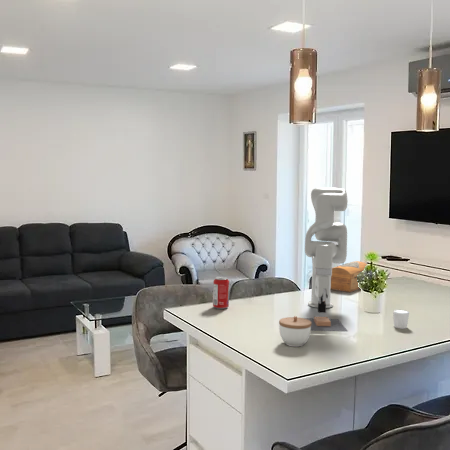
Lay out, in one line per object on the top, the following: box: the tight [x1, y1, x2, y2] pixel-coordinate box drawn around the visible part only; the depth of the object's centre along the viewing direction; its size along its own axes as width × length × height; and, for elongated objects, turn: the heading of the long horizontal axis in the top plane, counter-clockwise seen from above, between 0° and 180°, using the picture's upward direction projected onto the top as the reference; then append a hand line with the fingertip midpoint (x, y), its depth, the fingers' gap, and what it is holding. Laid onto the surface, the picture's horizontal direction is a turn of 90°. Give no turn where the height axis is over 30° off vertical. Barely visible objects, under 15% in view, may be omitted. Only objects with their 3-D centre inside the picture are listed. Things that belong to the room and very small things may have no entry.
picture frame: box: [313, 316, 331, 326], centre depth 247 cm, size 2×6×8 cm
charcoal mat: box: [303, 317, 348, 332], centre depth 247 cm, size 20×18×1 cm
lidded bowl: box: [278, 315, 311, 348], centre depth 219 cm, size 13×13×11 cm
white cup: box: [393, 309, 410, 329], centre depth 248 cm, size 7×7×7 cm
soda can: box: [212, 276, 230, 310], centre depth 274 cm, size 8×8×15 cm
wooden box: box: [331, 260, 368, 293], centre depth 334 cm, size 30×16×14 cm, turn 144°
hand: (321, 312), depth 249 cm, fingers closed
